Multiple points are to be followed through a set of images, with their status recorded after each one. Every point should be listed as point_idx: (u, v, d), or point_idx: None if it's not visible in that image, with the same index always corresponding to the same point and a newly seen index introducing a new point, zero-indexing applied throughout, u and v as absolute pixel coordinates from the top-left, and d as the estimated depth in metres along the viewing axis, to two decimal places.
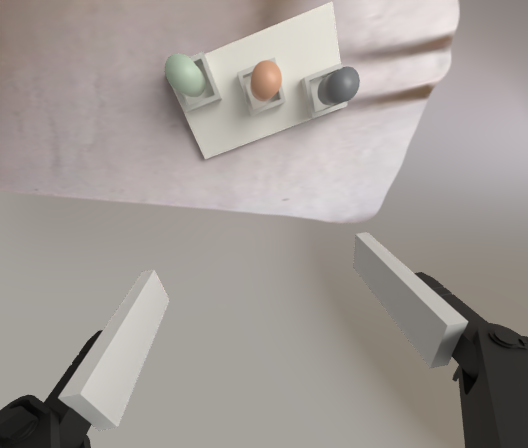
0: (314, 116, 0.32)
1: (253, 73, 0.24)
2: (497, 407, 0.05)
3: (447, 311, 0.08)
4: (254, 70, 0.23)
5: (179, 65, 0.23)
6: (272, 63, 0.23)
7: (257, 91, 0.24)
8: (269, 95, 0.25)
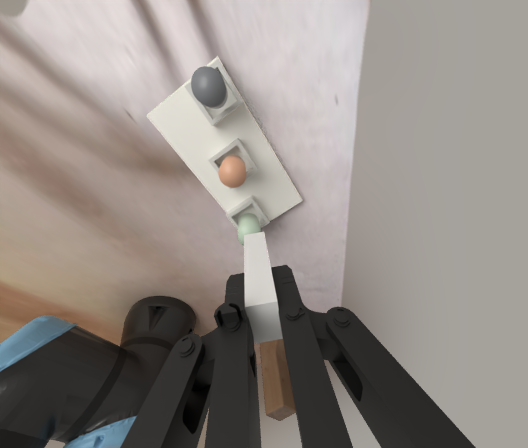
0: (241, 100, 0.28)
1: (232, 186, 0.27)
2: (293, 378, 0.07)
3: (269, 294, 0.10)
4: (229, 186, 0.27)
5: None
6: (219, 172, 0.26)
7: (243, 179, 0.27)
8: (243, 168, 0.26)
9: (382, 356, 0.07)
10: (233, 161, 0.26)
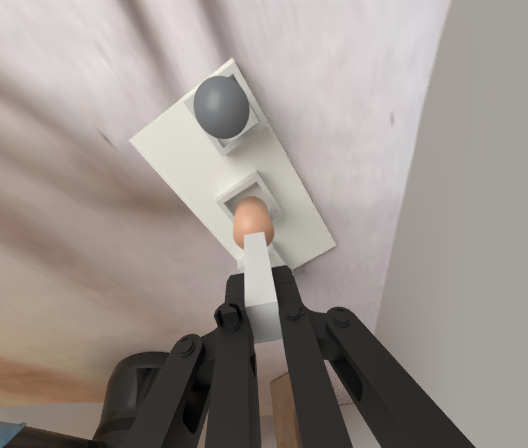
0: (265, 121, 0.19)
1: None
2: (293, 378, 0.07)
3: (269, 294, 0.10)
4: None
5: None
6: (234, 232, 0.17)
7: (270, 241, 0.18)
8: (270, 226, 0.17)
9: (382, 356, 0.07)
10: (256, 217, 0.17)
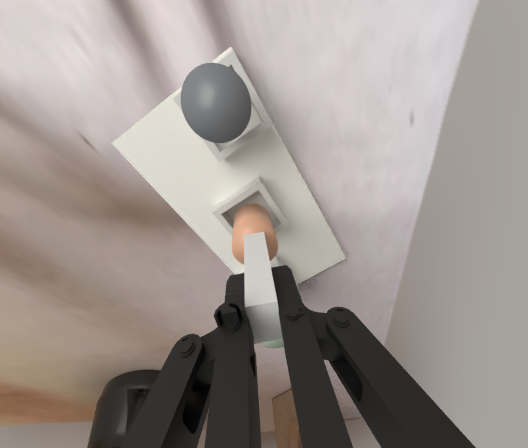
0: (269, 121, 0.17)
1: None
2: (293, 378, 0.07)
3: (269, 294, 0.10)
4: None
5: None
6: (233, 246, 0.15)
7: (273, 255, 0.16)
8: (274, 239, 0.16)
9: (382, 356, 0.07)
10: (258, 229, 0.15)
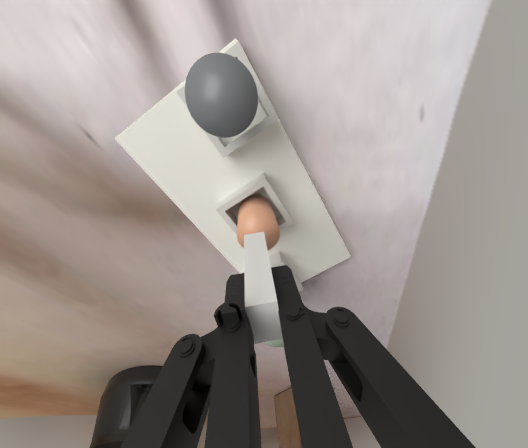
0: (275, 116, 0.16)
1: None
2: (293, 378, 0.07)
3: (269, 294, 0.10)
4: None
5: None
6: (238, 232, 0.17)
7: (275, 242, 0.17)
8: (276, 226, 0.17)
9: (382, 356, 0.07)
10: (261, 217, 0.16)
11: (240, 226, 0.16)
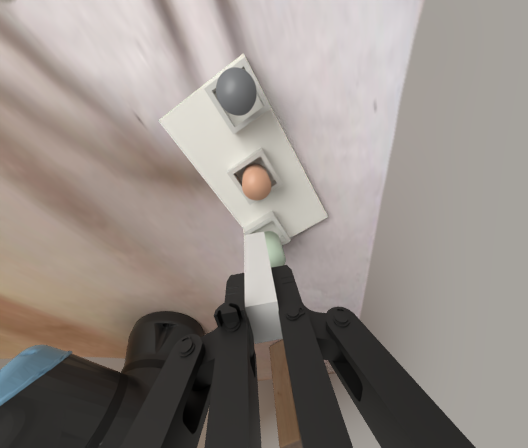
0: (268, 105, 0.24)
1: (255, 199, 0.26)
2: (293, 379, 0.07)
3: (269, 294, 0.10)
4: (253, 198, 0.26)
5: None
6: (243, 184, 0.25)
7: (268, 192, 0.25)
8: (268, 180, 0.25)
9: (382, 356, 0.07)
10: (258, 173, 0.24)
11: (244, 179, 0.24)
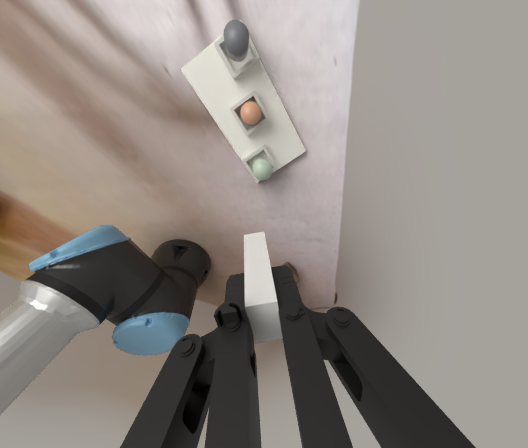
0: (258, 56, 0.35)
1: (250, 123, 0.36)
2: (293, 378, 0.07)
3: (269, 294, 0.10)
4: (248, 123, 0.36)
5: (259, 172, 0.38)
6: (241, 111, 0.35)
7: (259, 118, 0.36)
8: (259, 108, 0.35)
9: (382, 356, 0.07)
10: (251, 102, 0.35)
11: (242, 107, 0.35)
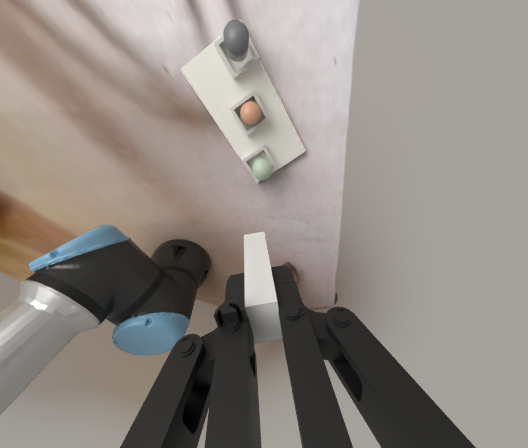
0: (258, 56, 0.35)
1: (250, 123, 0.36)
2: (293, 378, 0.07)
3: (269, 294, 0.10)
4: (248, 123, 0.36)
5: (258, 172, 0.38)
6: (241, 111, 0.35)
7: (258, 118, 0.36)
8: (259, 108, 0.35)
9: (382, 356, 0.07)
10: (251, 102, 0.35)
11: (242, 107, 0.35)
